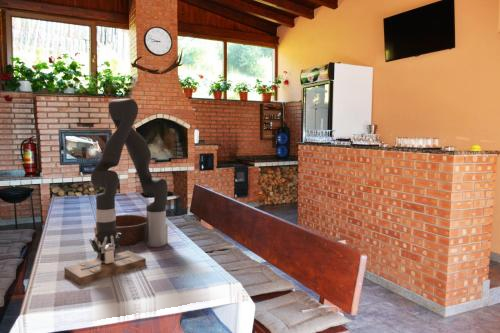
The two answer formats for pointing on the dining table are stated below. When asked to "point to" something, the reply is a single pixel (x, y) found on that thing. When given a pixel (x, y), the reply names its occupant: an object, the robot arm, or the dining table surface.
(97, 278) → the brown flat wooden board
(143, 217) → the wooden bowl
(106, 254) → the fader tab
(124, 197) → the dining table surface
